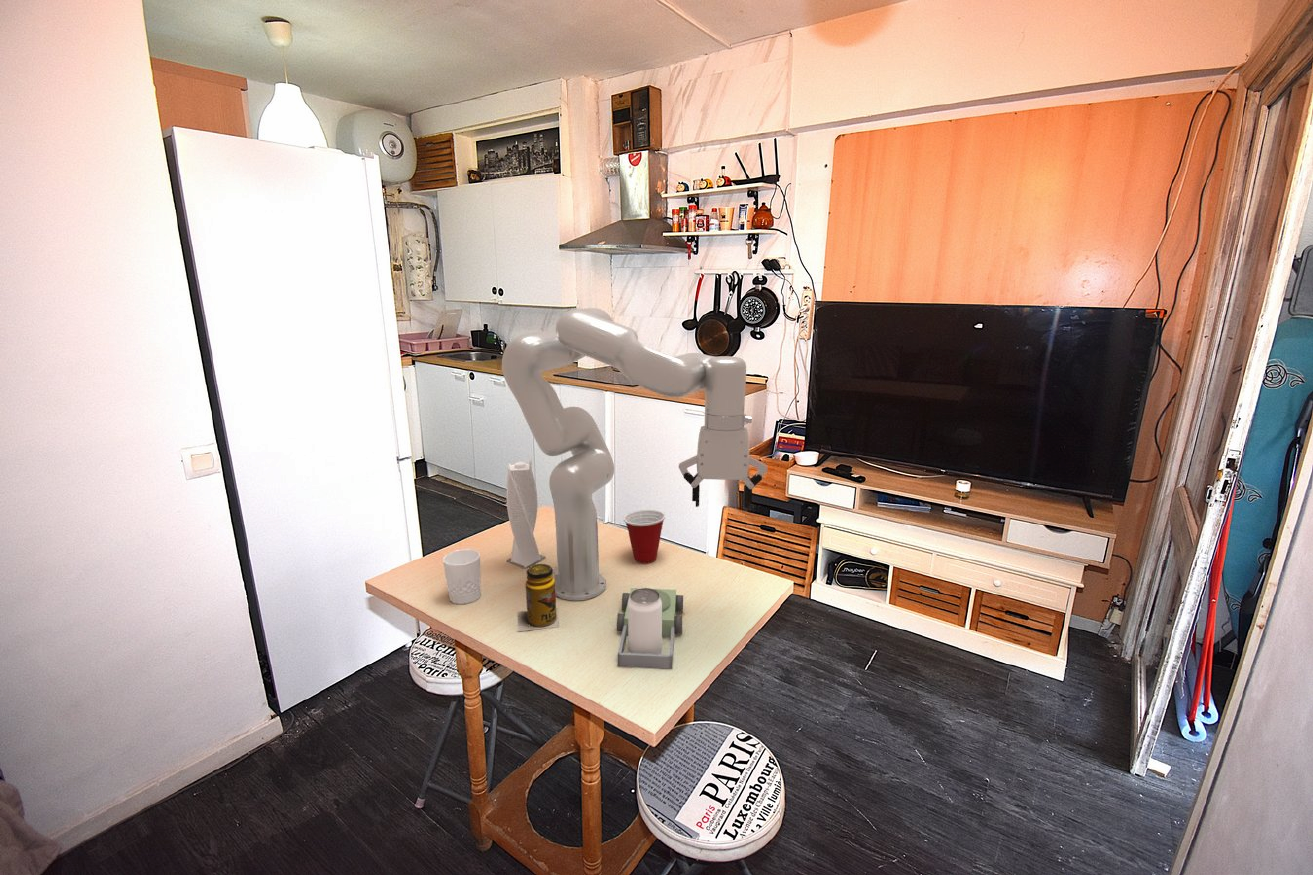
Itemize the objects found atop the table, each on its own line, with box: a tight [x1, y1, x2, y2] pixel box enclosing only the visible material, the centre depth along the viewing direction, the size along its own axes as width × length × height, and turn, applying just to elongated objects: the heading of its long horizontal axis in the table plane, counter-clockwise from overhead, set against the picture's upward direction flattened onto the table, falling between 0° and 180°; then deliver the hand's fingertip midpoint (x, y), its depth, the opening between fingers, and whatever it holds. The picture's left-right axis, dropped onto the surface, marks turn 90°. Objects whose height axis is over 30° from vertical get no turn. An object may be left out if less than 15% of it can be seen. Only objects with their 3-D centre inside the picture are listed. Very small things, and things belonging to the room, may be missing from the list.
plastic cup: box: [623, 509, 666, 564], centre depth 148 cm, size 11×11×12 cm
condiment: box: [517, 563, 560, 633], centre depth 121 cm, size 7×8×12 cm
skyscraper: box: [506, 457, 546, 570], centre depth 144 cm, size 8×8×28 cm
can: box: [627, 587, 663, 654], centre depth 110 cm, size 6×6×12 cm
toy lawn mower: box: [616, 587, 684, 670], centre depth 117 cm, size 13×22×5 cm, turn 176°
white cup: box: [442, 548, 482, 605], centre depth 130 cm, size 8×8×10 cm
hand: (721, 505), depth 115 cm, fingers open, 9 cm apart
